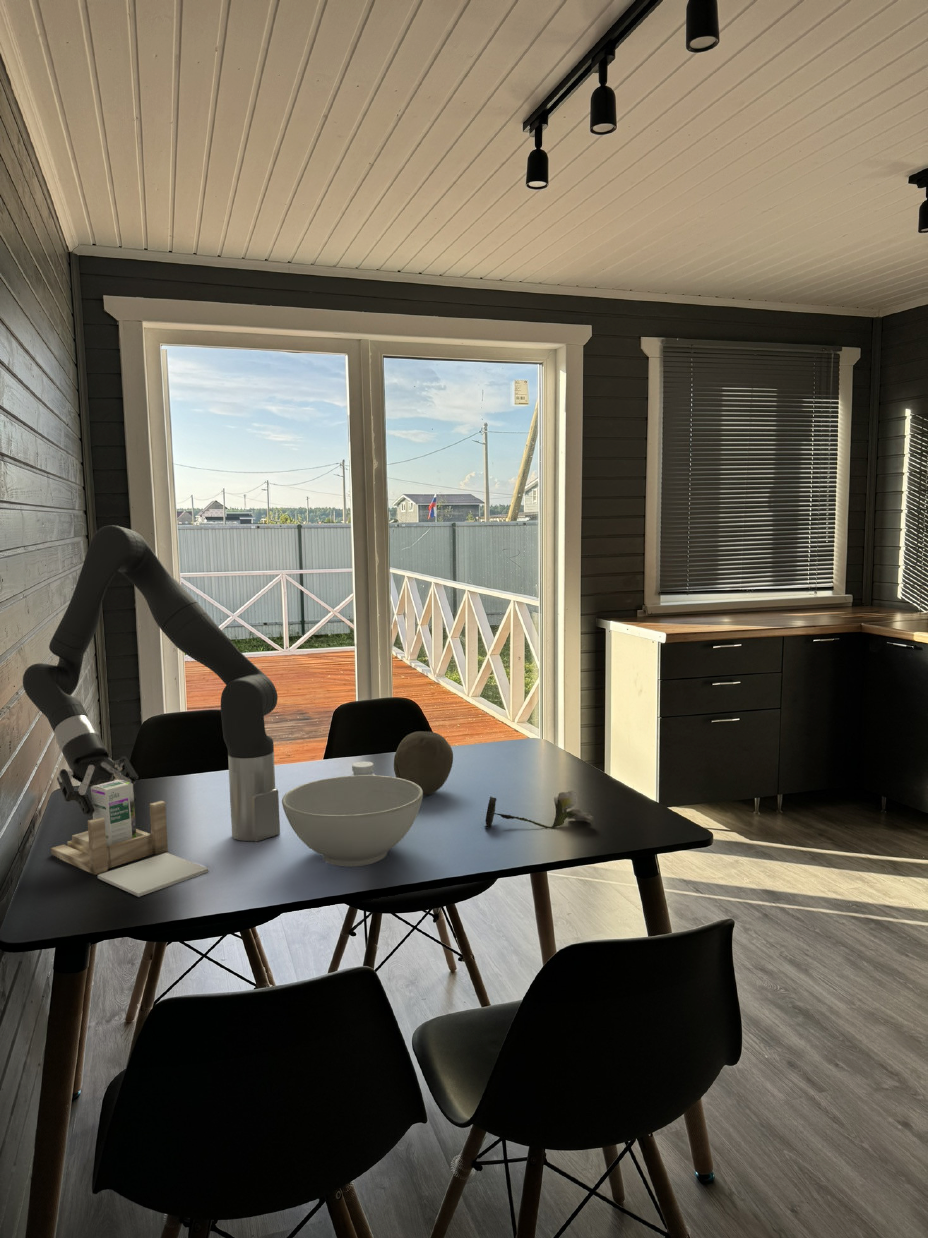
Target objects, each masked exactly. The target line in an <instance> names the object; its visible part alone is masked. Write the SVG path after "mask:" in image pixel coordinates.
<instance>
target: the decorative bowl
mask: <svg viewBox="0 0 928 1238" xmlns="http://www.w3.org/2000/svg"><path fill="white" fill-rule="evenodd" d="M375 775H376V774H375ZM375 775H358V776H351V775H346V776H345V775H344V776H335V777H329V778H324V779H319V780H314V781H310V782H307V783H304V784H301V785H299V786H296V787H294V788H292V789H290V790H288V791H287V792H285V794H284V795H283V797H282V799H281V804H282V808H283V812H284V814H285V817H286V819H287V821H288V823H289V825H290V827H291V829H292V830H293V832H294V833H295V834H296V836H297V837H298V838H299V840H301V842H302V843H304V844H305V845H306V846H307V847H308V848H309V849H310V850H312V851H313V852H315V853H317V854H319V855H321V856H322V859H323V860H324V861H325V862H326V863H328V864H330V865H333V866H337V867H351V868H352V867H360V866H361V867H362V866H367V865H371V864H375V863H377V862H380V861H382V860H383V859H384V858H385V857H387V855H388V851H390V850H391V849H392V848H393V847H396V845H397V844H399V843H400V842H401V840H403V838H404V837H405V836H406V835H407V834H408V832H409V831H410V829H411V828H412V826H413V824H414V823H415V820H416V819H417V816H418V814H419V812H420V809H421V805H422V801H423V797H424V796H423V791H422V789H421V787H420V786H419V785H417V784H415V783H413V782H411V781H408V780H405V779H401V778H396V776H395V777H394V776H388V775H387V776H386V775H376V776H375Z"/></svg>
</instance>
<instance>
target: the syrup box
mask: <svg viewBox="0 0 928 1238" xmlns="http://www.w3.org/2000/svg"><path fill="white" fill-rule="evenodd" d="M133 789H134V785H133V784H132V783H130V782H128V781H124V780H118V779H117V780H114V781H111V782H107V783H103V784H100V785H95V786H92V787H90V796H91V798H90V800H91V803H92V805H93V807H94V810H95V811H94V813H93V815H92V819H96V818H99V817H102V818H104V819H105V833H106V846H109V845H112V844H115V843H119V842H122V841H125V840H129V839H132V838H135V837H136V829H137V824H136V812H135V811H136V809H135V803H134V793H133Z"/></svg>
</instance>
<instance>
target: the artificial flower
mask: <svg viewBox="0 0 928 1238" xmlns="http://www.w3.org/2000/svg"><path fill="white" fill-rule="evenodd" d="M578 799H579V797H578V795H577V793H576V791H575V790H570V791H561V792H559V793H558V795H557V796H555V797H554V798H553V801H554V806H555V807H554V808H555V815H554V816H555V818H554V820H553V824H552V825H551V826H548V825H544V824H543V823H542V824H541V823H540V822H536V821H534V820H531V819H528V818H525V817H519V816H515V815H511V814H503V813H496V803H497V797H493V796H489V800H488V804H487V809H486V814H485V815H486V816H485V820H484V821H485V825H484V828H486V829H491V827H492V823H493V821H494V817H495V815H498V816H500V817H501V818H503V819H505V820H514V819H516V820H520V821H523V822H529V823H531V824H534V825H535V826H536V825H537V826H539V827H542V828H544V829H547V828H552V829H555V828H558V827H561V826H563V825H564V824H565V821H566V820H567V819H568V820H572V819H573V820H575V821H578V822H585V823H589V824H590V823H591V822H594V817H593V816H592V815H590V814H589V813H588V812H582V811H581V809H578V808H574V809H573V807H575V806H576V804H577V802H578ZM571 808H572V809H571ZM569 809H571V810H569Z"/></svg>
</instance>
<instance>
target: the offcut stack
mask: <svg viewBox="0 0 928 1238" xmlns="http://www.w3.org/2000/svg"><path fill="white" fill-rule="evenodd" d="M86 838H89V835H88V830H86V831H83V832H79V833H76V834H73V835H71V840H69V841H67V844H66V845H67V846H69V847H71V848H73V849H76V850H78V851H80V852H83V839H86Z"/></svg>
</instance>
